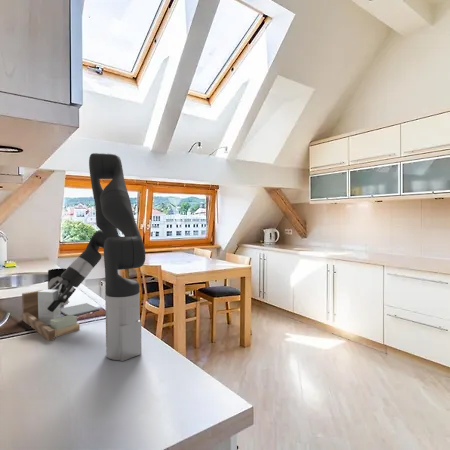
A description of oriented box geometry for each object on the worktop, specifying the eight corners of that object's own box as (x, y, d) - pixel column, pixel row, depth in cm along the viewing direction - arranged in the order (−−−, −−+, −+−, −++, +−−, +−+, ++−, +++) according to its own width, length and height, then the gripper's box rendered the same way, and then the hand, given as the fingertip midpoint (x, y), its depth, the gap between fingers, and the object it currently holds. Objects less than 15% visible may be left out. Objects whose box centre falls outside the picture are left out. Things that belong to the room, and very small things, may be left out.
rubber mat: (99, 310, 130) (99, 308, 130) (69, 317, 121) (69, 315, 121) (86, 304, 138) (86, 303, 138) (57, 310, 129) (57, 309, 129)
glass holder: (46, 307, 133) (45, 272, 133) (47, 299, 146) (47, 267, 145) (69, 304, 137) (69, 270, 137) (68, 297, 150) (68, 265, 149)
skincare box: (61, 321, 116) (60, 289, 116) (53, 325, 112) (53, 292, 111) (45, 321, 117) (45, 289, 116) (37, 325, 112) (37, 291, 112)
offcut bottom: (79, 331, 108) (79, 323, 108) (54, 338, 102) (54, 330, 102) (72, 327, 111) (72, 320, 111) (48, 334, 105) (48, 326, 105)
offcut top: (77, 323, 108) (76, 316, 108) (56, 329, 102) (56, 322, 102) (70, 321, 110) (70, 314, 110) (50, 327, 104) (50, 319, 104)
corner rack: (82, 331, 106) (81, 302, 106) (49, 340, 98) (48, 309, 98) (51, 313, 125) (51, 288, 125) (21, 319, 118) (21, 293, 117)
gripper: (62, 263, 124) (30, 298, 116) (78, 268, 114) (43, 306, 106) (76, 275, 128) (46, 309, 120) (92, 280, 118) (60, 318, 110)
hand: (45, 308), depth 113 cm, fingers open, 8 cm apart
